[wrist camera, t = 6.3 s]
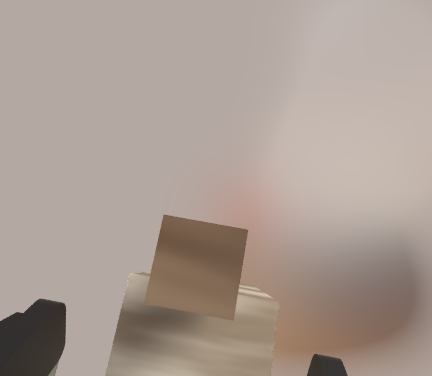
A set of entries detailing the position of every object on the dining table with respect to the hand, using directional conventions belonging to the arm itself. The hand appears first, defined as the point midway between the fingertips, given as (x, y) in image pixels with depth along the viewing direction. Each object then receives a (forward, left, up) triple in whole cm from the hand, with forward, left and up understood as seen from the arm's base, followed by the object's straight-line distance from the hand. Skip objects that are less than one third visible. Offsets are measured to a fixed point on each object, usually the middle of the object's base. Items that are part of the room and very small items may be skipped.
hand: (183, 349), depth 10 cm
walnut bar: (+13, 0, +1) cm, 13 cm away
